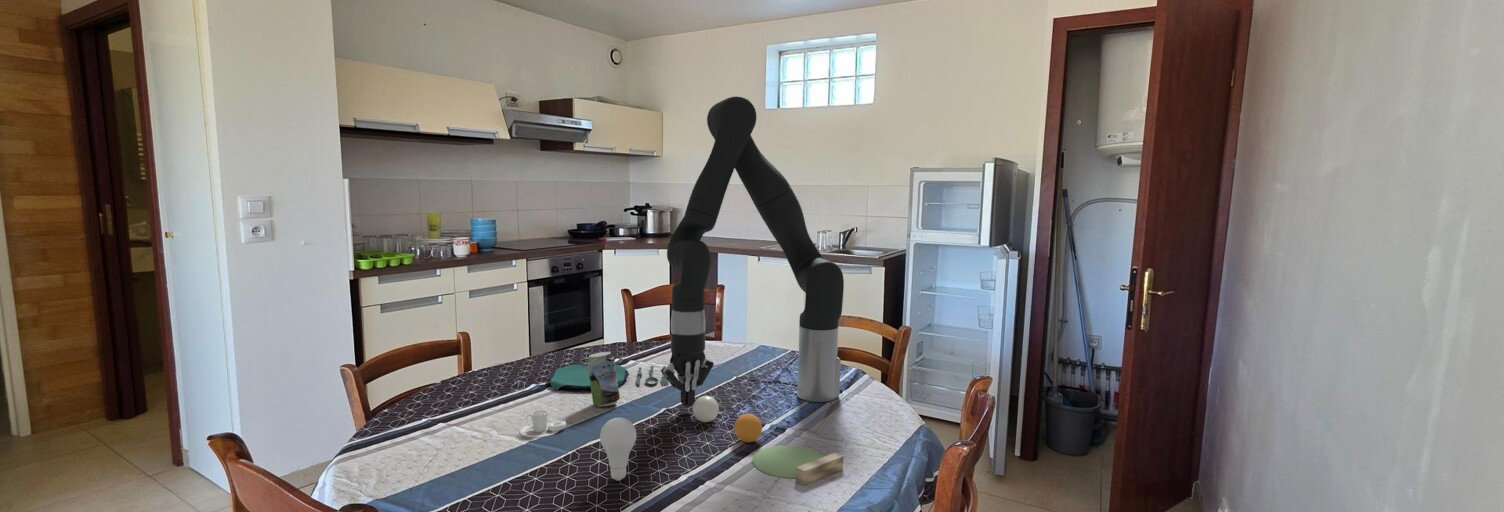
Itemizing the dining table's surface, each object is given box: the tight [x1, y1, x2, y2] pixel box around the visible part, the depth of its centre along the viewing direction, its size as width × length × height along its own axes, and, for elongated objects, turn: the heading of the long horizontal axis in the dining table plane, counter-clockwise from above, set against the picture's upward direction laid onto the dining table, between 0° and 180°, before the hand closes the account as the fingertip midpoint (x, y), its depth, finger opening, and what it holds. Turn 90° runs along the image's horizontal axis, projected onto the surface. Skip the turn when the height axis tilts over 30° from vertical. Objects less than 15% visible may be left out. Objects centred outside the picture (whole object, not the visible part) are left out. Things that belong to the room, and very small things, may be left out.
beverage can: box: [586, 351, 620, 408], centre depth 154 cm, size 6×7×12 cm
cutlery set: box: [548, 363, 670, 391], centre depth 174 cm, size 20×30×2 cm, turn 98°
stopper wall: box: [795, 452, 844, 486], centre depth 120 cm, size 10×2×2 cm, turn 131°
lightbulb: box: [599, 416, 637, 482], centre depth 117 cm, size 6×6×11 cm
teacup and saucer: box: [519, 410, 567, 438], centre depth 139 cm, size 9×8×4 cm
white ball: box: [692, 395, 720, 423], centre depth 145 cm, size 6×6×6 cm
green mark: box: [752, 444, 826, 479], centre depth 126 cm, size 14×14×1 cm
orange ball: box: [733, 413, 763, 443], centre depth 135 cm, size 6×6×6 cm
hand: (687, 405), depth 151 cm, fingers closed
